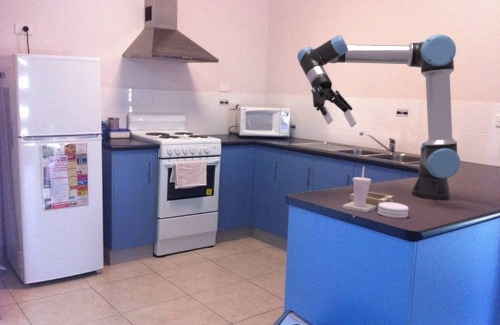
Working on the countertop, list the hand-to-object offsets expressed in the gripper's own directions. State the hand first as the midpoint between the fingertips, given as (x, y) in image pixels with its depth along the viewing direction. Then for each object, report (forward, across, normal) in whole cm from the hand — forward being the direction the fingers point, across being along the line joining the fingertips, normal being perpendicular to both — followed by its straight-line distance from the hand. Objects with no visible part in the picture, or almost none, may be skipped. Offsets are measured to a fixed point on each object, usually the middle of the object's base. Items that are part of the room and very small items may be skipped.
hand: (342, 123), depth 171 cm
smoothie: (+30, +1, -9) cm, 31 cm away
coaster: (+38, -3, -2) cm, 38 cm away
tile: (+31, +1, -10) cm, 32 cm away
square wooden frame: (+28, -11, -12) cm, 32 cm away
